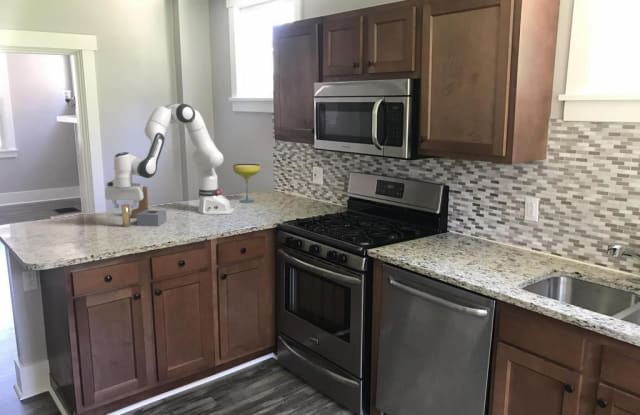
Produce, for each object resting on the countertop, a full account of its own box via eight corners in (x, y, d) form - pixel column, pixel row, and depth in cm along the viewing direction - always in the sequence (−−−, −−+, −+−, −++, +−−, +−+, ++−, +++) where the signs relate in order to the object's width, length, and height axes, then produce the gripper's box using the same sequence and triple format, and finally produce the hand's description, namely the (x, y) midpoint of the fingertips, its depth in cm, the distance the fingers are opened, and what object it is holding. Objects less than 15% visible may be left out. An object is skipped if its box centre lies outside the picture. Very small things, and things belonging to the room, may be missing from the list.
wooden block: (131, 218, 304) (129, 187, 300) (133, 216, 308) (131, 186, 305) (147, 218, 305) (145, 187, 302) (148, 216, 310) (147, 186, 306)
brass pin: (131, 225, 287) (130, 204, 285) (128, 227, 283) (127, 205, 281) (124, 225, 287) (123, 203, 285) (121, 227, 283) (120, 205, 281)
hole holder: (166, 221, 297) (166, 210, 296) (158, 226, 286) (157, 214, 284) (146, 220, 298) (145, 209, 297) (137, 225, 287) (136, 214, 285)
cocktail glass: (235, 199, 366) (234, 163, 361) (261, 199, 368) (260, 163, 363) (232, 204, 349) (231, 166, 344) (259, 204, 350) (259, 167, 345)
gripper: (144, 182, 283) (146, 207, 285) (108, 181, 284) (110, 206, 287) (139, 184, 276) (141, 209, 279) (102, 183, 278) (104, 208, 281)
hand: (125, 208), depth 283 cm, fingers open, 8 cm apart
